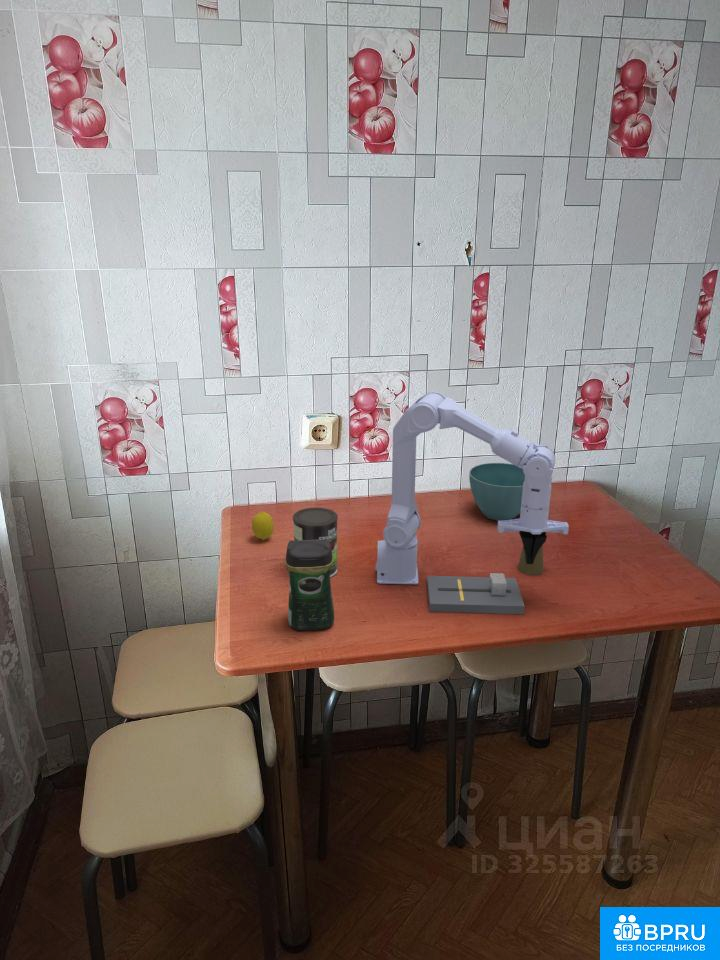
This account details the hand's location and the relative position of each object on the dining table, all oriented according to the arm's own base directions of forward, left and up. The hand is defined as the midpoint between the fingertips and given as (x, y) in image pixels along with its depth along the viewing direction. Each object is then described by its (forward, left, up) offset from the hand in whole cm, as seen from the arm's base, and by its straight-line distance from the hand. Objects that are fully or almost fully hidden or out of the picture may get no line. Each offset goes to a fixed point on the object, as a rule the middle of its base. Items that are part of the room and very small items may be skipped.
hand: (529, 561), depth 156 cm
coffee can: (-47, +11, -10) cm, 50 cm away
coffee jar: (-46, -11, -10) cm, 49 cm away
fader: (-6, 0, -7) cm, 10 cm away
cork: (+4, +14, -10) cm, 17 cm away
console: (-11, 0, -9) cm, 15 cm away
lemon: (-62, +26, -10) cm, 68 cm away
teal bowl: (+1, +45, -10) cm, 46 cm away
